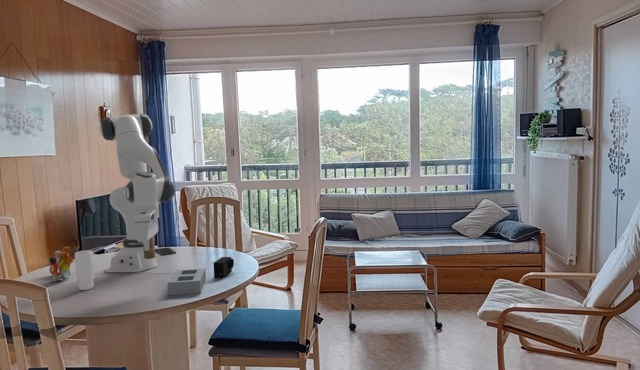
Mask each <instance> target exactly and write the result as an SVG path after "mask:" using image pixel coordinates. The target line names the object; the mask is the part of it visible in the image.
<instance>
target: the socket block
mask: <svg viewBox="0 0 640 370" xmlns="http://www.w3.org/2000/svg"><path fill="white" fill-rule="evenodd" d="M206 272H207V271H206V268H204V267H203V268H188V269H186V268H185V269H175V271H174V272H173V274H172V275H171V277H170V278H169V280H167V281H168V282H167V296H181V295H183V296H185V295H196V294H197V295H199V294H201V293H202V290H203V288H204V285H205V283H206V281H207V276H206Z"/></svg>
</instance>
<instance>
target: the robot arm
mask: <svg viewBox="0 0 640 370" xmlns="http://www.w3.org/2000/svg"><path fill="white" fill-rule="evenodd" d="M99 132H100V134H101V136H102V138H103V139H104V140H106V141H112V142H113V141H116V155H117V161H118V167H119V172H120V174H121V176H122V177H124V178H126V179H128V180H129V182H128V183H127V184H126V185H125V186H122V187H121V186H120V187H118V188H115V189H113V190H112V191H111V193H110V195H109V203H110V205H111V207H112V208H113V210H115V211H117V212H118V213H120V215H121V216H122V218H123V220H124V223H125V228H126V229H125V230H126V237H125V238H124V239H123V240H122V244H121V245H122V246H123V247H121V248H120V249H119V250H118V251H116V252H115V253H114V254H113V255H112V256H111V258H110V264H109V265H108V266H106V268H105V272H106V273H140V272H143V271H146V270H149V269H154V268H155V267H157V266H158V262H157V260H156V257H155V258H152V259H144V250H145V251H148V250H150V245H149V239H150V238H152V237H154V238H155V235H156V234H158V233H159V221H158V219H159V218H160V206H159V205H160V204H161V203H168V202H169V201H171V200H172V199H173V197H174V196H175V186H174V184H173V182H172V180H171V178H170V176H169V175H168V173H167V171H166V169H165V167H164V164H163V162H162V160H161V158H160V156H159V154H158V152H157V150H156V148H155V147H152V146H151V145H150V144H148V142H147V141H146V138H148V137H149V136H150V135H151V134H152V132H153V122H152V120H151V118H150V117H149V115H147V114H143V113H140V114H134V113H133V114H123V115H122V114H121V115H115V116H111V117H110V116H107V117H103V118H102V119H101V120H100V123H99ZM146 165H148V166H149V167H150V168H151V170H152V172H151V171H150V172H149V171H147V168H146ZM143 244H144V246H143Z"/></svg>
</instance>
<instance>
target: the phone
mask: <svg viewBox="0 0 640 370" xmlns="http://www.w3.org/2000/svg"><path fill="white" fill-rule="evenodd" d="M155 253H156V254H158V255H160V256H161V257H162V256H163V257H164V256H168V255H176V254H177V251H175V250H174V249H173V248H170V247H163V248H162V247H161V248H155Z"/></svg>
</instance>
